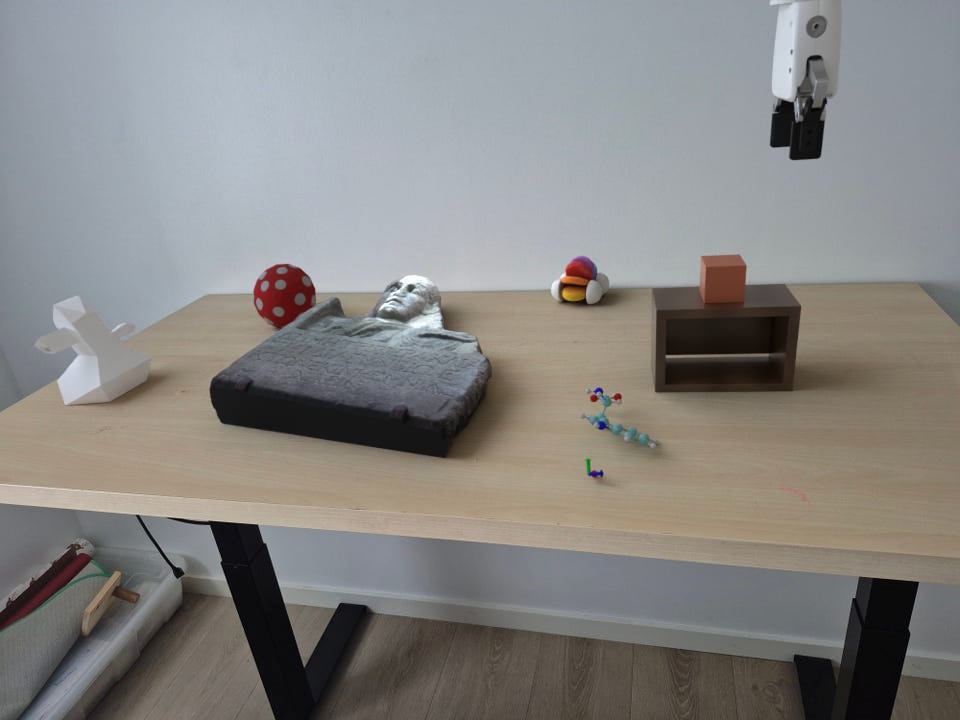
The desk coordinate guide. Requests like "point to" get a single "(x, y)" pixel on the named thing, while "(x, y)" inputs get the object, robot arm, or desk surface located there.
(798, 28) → the robot arm
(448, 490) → the desk surface
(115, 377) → the white animal head
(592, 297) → the rainbow toy buggy
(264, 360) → the bust sculpture
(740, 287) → the box
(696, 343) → the shelf
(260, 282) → the red polka dot ball
